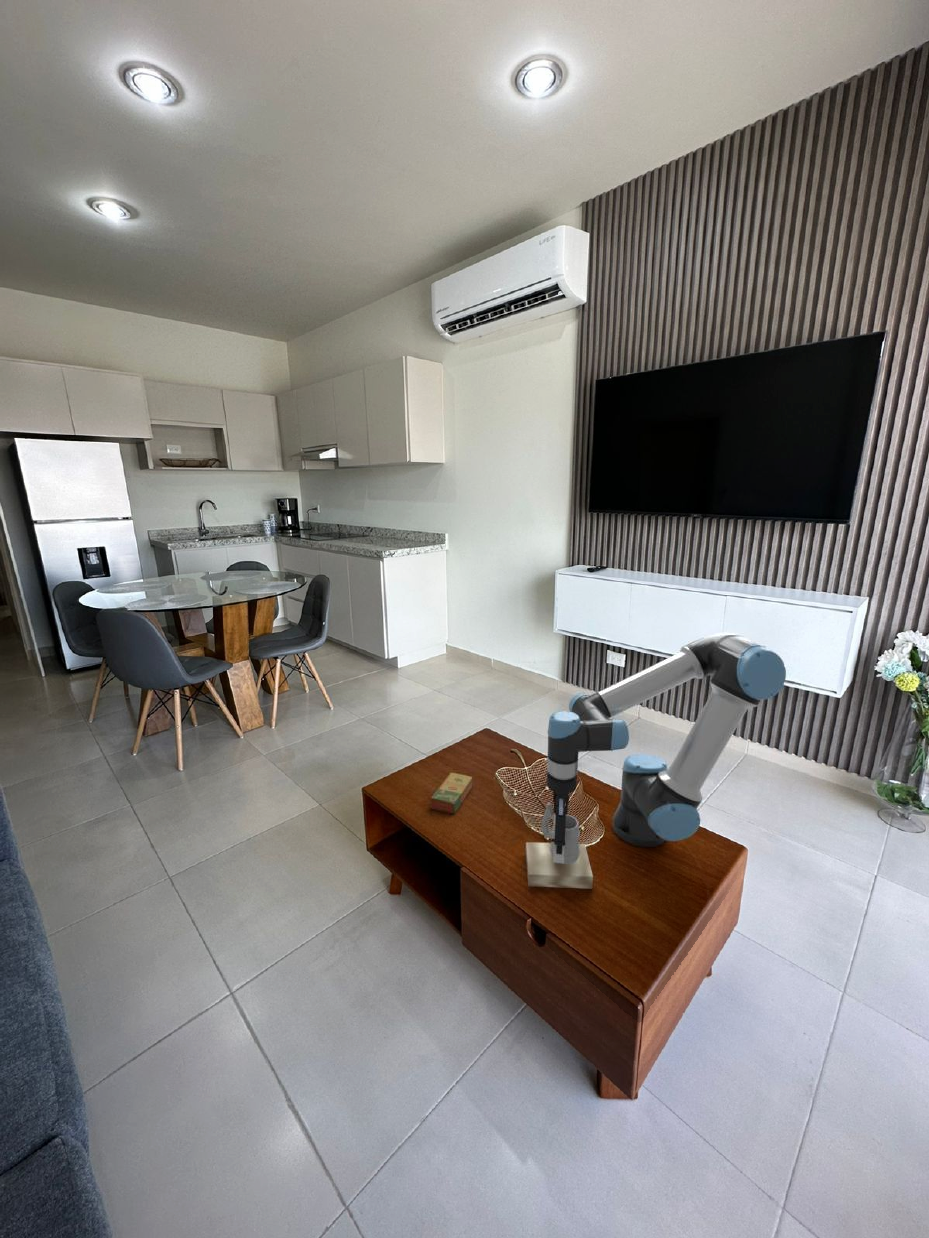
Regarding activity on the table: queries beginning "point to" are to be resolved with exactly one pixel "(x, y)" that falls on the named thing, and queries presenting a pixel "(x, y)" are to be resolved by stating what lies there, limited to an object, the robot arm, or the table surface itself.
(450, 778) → the carton
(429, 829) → the table surface
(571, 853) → the mug
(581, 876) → the cream rectangular block
